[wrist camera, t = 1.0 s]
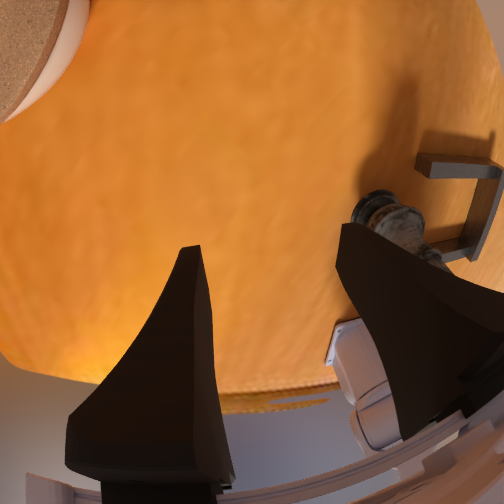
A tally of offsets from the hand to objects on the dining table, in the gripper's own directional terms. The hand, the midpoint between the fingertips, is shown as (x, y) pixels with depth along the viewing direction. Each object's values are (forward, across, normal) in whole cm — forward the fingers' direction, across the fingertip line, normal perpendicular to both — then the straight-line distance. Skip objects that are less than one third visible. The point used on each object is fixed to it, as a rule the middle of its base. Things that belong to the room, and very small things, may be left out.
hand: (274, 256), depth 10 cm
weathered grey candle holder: (+11, -12, +6) cm, 17 cm away
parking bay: (+10, -22, +6) cm, 25 cm away
